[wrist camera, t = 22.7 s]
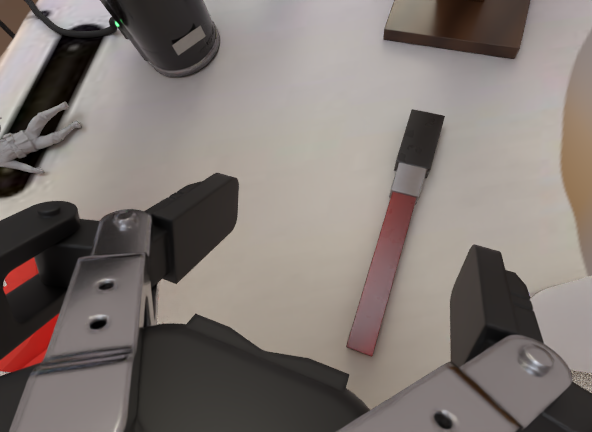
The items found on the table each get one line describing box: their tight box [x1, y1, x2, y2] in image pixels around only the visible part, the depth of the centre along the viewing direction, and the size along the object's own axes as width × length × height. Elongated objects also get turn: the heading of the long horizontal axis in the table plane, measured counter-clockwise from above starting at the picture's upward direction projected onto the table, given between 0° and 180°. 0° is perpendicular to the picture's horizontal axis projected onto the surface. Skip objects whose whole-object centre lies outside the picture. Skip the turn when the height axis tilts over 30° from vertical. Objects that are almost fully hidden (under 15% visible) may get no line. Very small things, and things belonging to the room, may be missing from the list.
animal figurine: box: [0, 257, 59, 372], centre depth 35 cm, size 12×15×5 cm
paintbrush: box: [346, 109, 445, 356], centre depth 33 cm, size 3×24×2 cm, turn 160°
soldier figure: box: [0, 102, 82, 174], centre depth 42 cm, size 8×5×12 cm
